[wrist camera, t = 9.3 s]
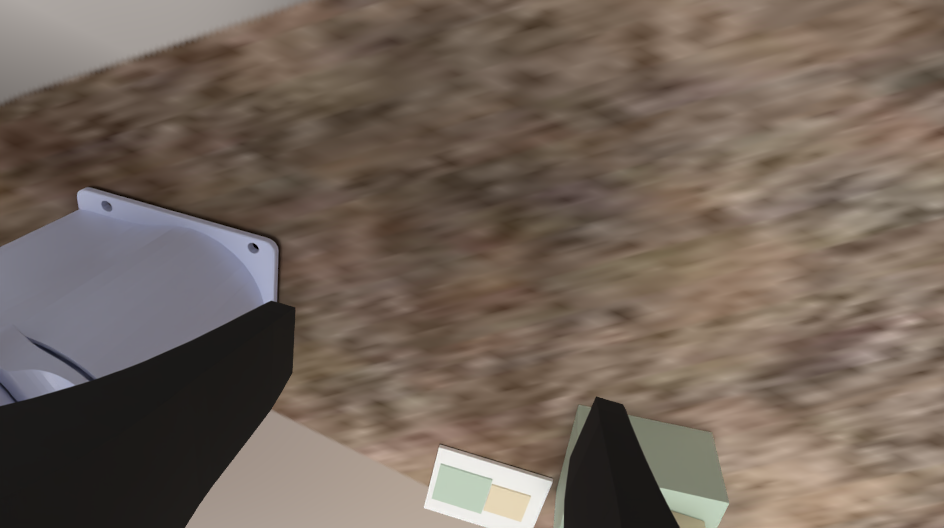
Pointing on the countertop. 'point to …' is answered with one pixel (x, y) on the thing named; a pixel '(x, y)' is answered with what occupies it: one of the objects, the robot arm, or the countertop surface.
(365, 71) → the countertop surface
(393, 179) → the countertop surface
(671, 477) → the sage base block
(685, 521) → the maple block
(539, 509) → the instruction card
